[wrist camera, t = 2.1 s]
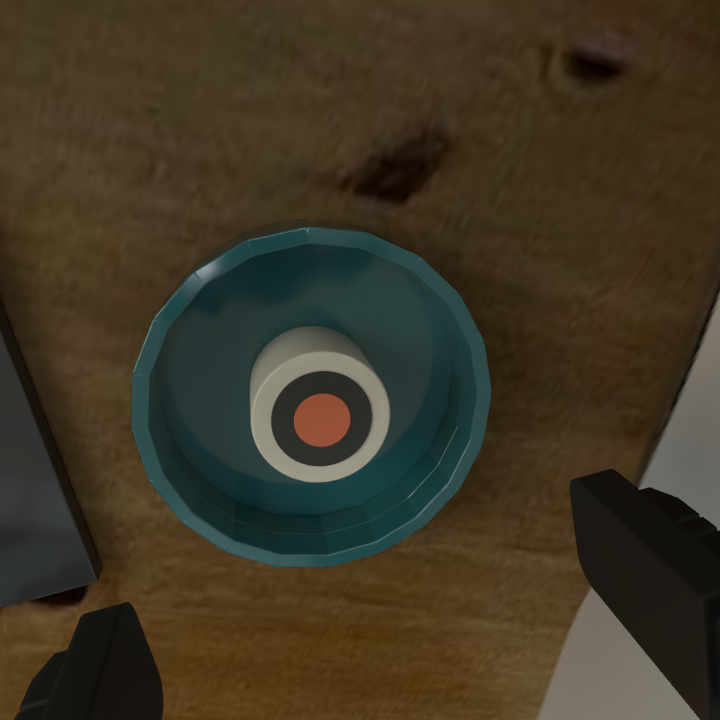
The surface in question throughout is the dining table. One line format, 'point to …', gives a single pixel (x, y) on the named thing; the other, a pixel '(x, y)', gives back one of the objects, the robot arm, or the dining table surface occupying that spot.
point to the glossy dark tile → (35, 495)
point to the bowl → (232, 392)
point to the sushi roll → (316, 405)
